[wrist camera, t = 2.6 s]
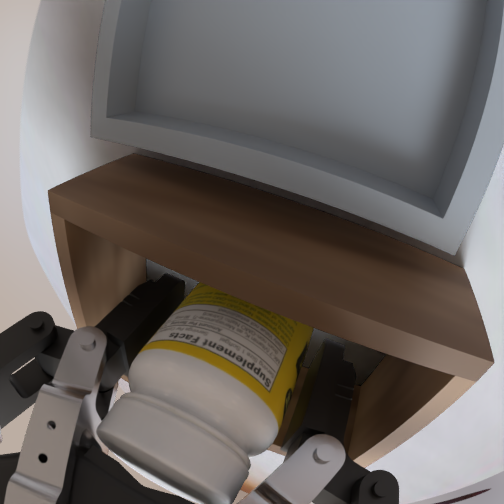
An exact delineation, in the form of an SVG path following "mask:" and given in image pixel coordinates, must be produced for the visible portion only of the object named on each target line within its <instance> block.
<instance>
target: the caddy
mask: <svg viewBox="0 0 504 504" xmlns="http://www.w3.org/2000/svg"><path fill="white" fill-rule="evenodd" d="M48 197H49V205H50V212H51V219H52V225H53V231H54V237H55V242H56V248H57V253H58V257H59V262H60V267H61V271H62V275H63V280H64V284H65V288H66V291H67V295H68V299H69V303H70V306H71V310H72V313H73V316H74V320H75V323H76V326H77V329H79V328H81V327H85V326H93V327H94V326H96V325H97V324H98V323H99V322H100V321H101V320H102V319H103V318H104V317H105V316H106V315H107V314H108V313H109V312H111V311H112V310H113V309H114V308H115V307H116V306H117V305H118V304H119V303H120V302H122V301H123V299H124V298H125V297H126V296H127V295H129V294H130V293H131V292H132V291H133V290H134V289H135V288H136V287H137V286H138V285H140V284H142V283H145V282H147V280H146V259H149V260H151V261H153V262H155V263H157V264H160V265H162V266H164V267H166V268H169V269H171V270H173V271H175V272H178V273H180V274H182V275H185V276H187V277H189V278H191V279H194V280H196V281H198V282H201V283H203V284H205V285H208V286H210V287H213V288H215V289H217V290H220V291H222V292H224V293H227V294H229V295H232V296H234V297H237V298H239V299H241V300H244V301H246V302H249V303H251V304H254V305H256V306H259V307H261V308H264V309H266V310H269V311H271V312H274V313H276V314H279V315H282V316H284V317H287V318H289V319H292V320H294V321H297V322H300V323H302V324H305V325H308V326H310V327H313V328H316V329H318V330H321V331H324V332H326V333H329V334H332V335H335V336H337V337H340V338H343V339H346V340H348V341H351V342H354V343H357V344H360V345H363V346H365V347H368V348H371V349H374V350H377V351H380V352H383V353H386V354H387V355H386V356H385V357H384V359H383V360H382V361H381V362H380V364H379V365H378V366H377V367H376V369H375V370H374V371H373V372H372V374H371V375H370V376H369V377H368V379H367V380H366V381H365V382H364V383H363V385H362V386H358V385H354V389H353V396H352V400H351V401H352V402H351V407H350V412H349V417H348V421H347V426H346V431H345V435H344V447H345V450H346V452H347V454H348V456H349V457H350V458H351V459H352V460H353V461H354V462H356V463H357V464H359V465H360V466H362V467H363V468H365V467H367V466H369V465H370V464H372V463H374V462H375V461H377V460H378V459H380V458H382V457H383V456H385V455H386V454H388V453H389V452H391V451H392V450H394V449H395V448H397V447H398V446H399V445H401V444H402V443H404V442H405V441H407V440H408V439H409V438H411V437H412V436H413V435H415V434H416V433H417V432H419V431H420V430H421V429H423V428H424V427H425V426H427V425H428V424H429V423H430V422H432V421H433V420H434V419H435V418H437V417H438V416H439V415H440V414H441V413H443V412H444V411H445V410H446V409H447V408H448V407H450V406H451V405H452V404H453V403H454V402H455V401H456V400H457V399H459V398H460V397H461V396H462V395H463V394H464V393H465V392H466V391H467V390H468V389H469V388H470V387H471V386H472V385H473V384H474V383H475V382H477V381H478V380H479V379H480V378H481V376H482V375H483V374H484V373H485V372H486V371H487V370H488V369H489V368H490V367H491V366H492V365H493V364H494V359H493V355H492V351H491V347H490V343H489V339H488V336H487V332H486V329H485V326H484V322H483V319H482V316H481V313H480V310H479V307H478V304H477V301H476V298H475V295H474V293H473V290H472V287H471V284H470V282H469V279H468V277H467V274H466V271H465V269H463V268H461V267H459V266H457V265H455V264H452V263H450V262H448V261H446V260H443V259H441V258H439V257H436V256H434V255H432V254H429V253H427V252H425V251H422V250H420V249H418V248H415V247H413V246H410V245H408V244H406V243H403V242H401V241H398V240H396V239H393V238H391V237H388V236H386V235H383V234H381V233H378V232H376V231H373V230H371V229H368V228H366V227H363V226H360V225H358V224H355V223H352V222H350V221H347V220H344V219H342V218H339V217H336V216H334V215H331V214H328V213H325V212H323V211H320V210H317V209H314V208H311V207H309V206H306V205H303V204H300V203H297V202H294V201H291V200H288V199H285V198H282V197H279V196H277V195H274V194H270V193H267V192H264V191H261V190H258V189H255V188H252V187H249V186H246V185H243V184H239V183H236V182H233V181H230V180H227V179H223V178H220V177H217V176H213V175H210V174H207V173H203V172H200V171H196V170H193V169H189V168H186V167H182V166H179V165H175V164H172V163H168V162H164V161H161V160H157V159H153V158H149V157H146V156H142V155H138V154H134V153H133V154H131V155H128V156H125V157H123V158H120V159H118V160H115V161H113V162H110V163H108V164H105V165H103V166H100V167H98V168H96V169H93V170H91V171H89V172H86V173H84V174H82V175H80V176H77V177H75V178H73V179H71V180H68V181H66V182H64V183H62V184H60V185H58V186H56V187H54V188H52V189H50V190H48ZM308 370H309V369H308V368H306V367H303V366H302V367H301V370H300V373H299V376H298V379H297V382H296V384H295V387H294V390H293V393H292V397H291V400H290V403H289V405H288V408H287V411H286V413H285V416H284V418H283V421H282V424H281V427H280V429H279V432H278V434H277V436H276V438H275V440H274V442H273V444H272V445H271V446H270V447H269V448H268V449H267V450H270V451H273V452H275V453H278V454H281V455H284V456H286V454H287V452H284V451H281V450H280V448H281V446H282V443H283V440H284V438H285V435H286V432H287V430H288V427H289V424H290V421H291V419H292V416H293V413H294V410H295V407H296V404H297V401H298V399H299V396H300V393H301V390H302V387H303V384H304V380H305V377H306V375H307V372H308ZM121 378H122V379H123V380H125V381H127V382H128V383H129V381H128V377H126V376H125V375H123V376H122V377H121Z"/></svg>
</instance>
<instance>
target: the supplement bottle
mask: <svg viewBox="0 0 504 504" xmlns="http://www.w3.org/2000/svg"><path fill="white" fill-rule="evenodd" d="M313 329H314V328H313V327H310V326H308V325H305V324H302V323H300V322H297V321H294V320H292V319H289V318H287V317H284V316H282V315H279V314H276V313H274V312H271V311H269V310H266V309H264V308H261V307H259V306H256V305H254V304H251V303H249V302H246V301H244V300H241V299H239V298H237V297H234V296H232V295H229V294H227V293H224V292H222V291H220V290H217V289H215V288H213V287H210V286H208V285H205V284H203V283H201V282H199V283H198V284H197V285H196V287H195V288H194V289H193V290H192V291H191V293H190V294H189V295H188V296H187V297H186V298H185V299H184V301H183V302H182V303H181V304H180V305H179V307H178V308H177V309H176V310H175V311H174V312H173V314H172V315H171V316H170V317H169V318H168V319H167V321H166V322H165V323H164V324H163V325H162V326H161V328H160V329H159V330H158V331H157V332H156V333H155V334H154V335H153V337H152V338H151V339H150V340H149V341H148V342H147V344H146V345H145V346H144V347H143V348H142V350H141V351H140V352H139V353H138V355H137V356H136V358H135V359H134V361H133V362H132V364H131V366H130V369H129V375H128V381H129V387H130V391H131V392H130V393H125V394H123V395H122V396H121V397H120V399H119V400H117V401H116V402H115V403H114V405H113V407H112V408H111V410H110V411H109V412H108V414H107V415H106V416H105V418H104V419H103V420H102V422H101V423H100V424H99V426H98V427H97V430H96V433H97V436H98V437H99V439H100V440H101V441H102V443H103V444H104V445H105V446H106V447H107V448H108V449H109V450H110V451H111V452H112V453H113V454H114V455H116V456H117V457H118V458H119V459H121V460H122V461H123V462H124V463H126V464H127V465H128V466H130V467H131V468H132V469H134V470H135V471H137V472H139V473H140V474H141V475H143V476H144V477H146V478H147V479H149V480H151V481H152V482H154V483H156V484H158V485H159V486H161V487H163V488H165V489H167V490H169V491H171V492H173V493H175V494H177V495H179V496H181V497H184V498H186V499H189V500H191V501H194V502H197V503H200V504H232V503H233V502H234V500H235V498H236V496H237V494H238V492H239V490H240V489H241V487H242V485H243V483H244V481H245V480H246V479H247V477H248V475H249V472H248V470H249V469H250V466H251V464H250V460H249V458H250V457H253V456H256V455H259V454H261V453H262V452H264V451H265V450H267V449H268V448H269V447H270V446H271V445H272V444H273V442H274V440H275V438H276V436H277V434H278V432H279V429H280V427H281V424H282V421H283V418H284V416H285V413H286V411H287V408H288V405H289V403H290V400H291V397H292V393H293V390H294V387H295V384H296V382H297V379H298V376H299V373H300V370H301V367H302V364H303V361H304V358H305V355H306V352H307V348H308V345H309V342H310V339H311V336H312V332H313Z"/></svg>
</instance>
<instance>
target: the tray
mask: <svg viewBox="0 0 504 504" xmlns="http://www.w3.org/2000/svg"><path fill="white" fill-rule="evenodd" d="M91 137H92V138H97V139H102V140H106V141H111V142H115V143H120V144H124V145H129V146H133V147H137V148H141V149H145V150H149V151H153V152H157V153H161V154H165V155H169V156H173V157H177V158H180V159H184V160H188V161H191V162H195V163H199V164H202V165H206V166H209V167H213V168H216V169H220V170H223V171H226V172H230V173H233V174H236V175H240V176H243V177H246V178H250V179H253V180H256V181H259V182H262V183H265V184H269V185H272V186H275V187H278V188H281V189H284V190H287V191H290V192H293V193H296V194H299V195H302V196H304V197H307V198H310V199H313V200H316V201H319V202H322V203H324V204H327V205H330V206H333V207H335V208H338V209H341V210H344V211H346V212H349V213H352V214H354V215H357V216H360V217H362V218H365V219H367V220H370V221H373V222H375V223H378V224H380V225H383V226H385V227H388V228H390V229H393V230H395V231H398V232H400V233H402V234H405V235H407V236H410V237H412V238H414V239H417V240H419V241H422V242H424V243H426V244H429V245H431V246H433V247H435V248H438V249H440V250H442V251H444V252H447V253H449V254H451V255H453V256H455V254H456V252H457V250H458V248H459V246H460V244H461V242H462V241H463V239H464V237H465V235H466V233H467V231H468V229H469V227H470V225H471V223H472V221H473V218H474V216H475V214H476V212H477V210H478V208H479V205H480V203H481V201H482V199H483V196H484V194H485V192H486V189H487V187H488V185H489V182H490V180H491V177H492V175H493V172H494V169H495V167H496V164H497V161H498V159H499V156H500V153H501V150H502V147H503V144H504V0H105V5H104V10H103V15H102V20H101V26H100V32H99V38H98V45H97V52H96V61H95V70H94V80H93V92H92V108H91Z"/></svg>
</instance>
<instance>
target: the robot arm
mask: <svg viewBox="0 0 504 504" xmlns="http://www.w3.org/2000/svg"><path fill="white" fill-rule="evenodd" d="M184 292H185V282H184V280H182V279H179V278H177V277H175V276H173V275H170V274H168V273H166V274H164V275H163V276H162V277H161V278H160V279H159V280H157V281H156V282H154V281H151V280H149V281H147V282H145V283H142V284H140V285H138V286H137V287H136V288H135V289H134V290H133V291H132V292H131V293H130V294H129V295H127V296H126V297H125V298H124V299H123V301H122V302H120V303H119V304H118V305H117V306H116V307H115V308H114V309H113V310H112V311H111V312H109V313H108V314H107V315H106V316H105V317H104V318H103V319H102V320H101V321H100V322H99V323H98V324H97V325H96V326H94V327H93V326H85V327H81V328H79V329H77V330H75V331H73V330H70V329H66V328H63V327H60V326H56V325H55V323H54V321H53V318H52V317H51V315H49V314H48V313H46V312H41V311H40V312H34V313H31V314H30V315H28V316H26V317H25V318H23V319H22V320H20V321H19V322H17V323H16V324H14V325H13V326H11V327H9V328H8V329H7V330H5V331H3V332H2V333H0V443H1V442H2V436H1V429H2V428H3V427H4V426H6V425H7V424H8V423H9V422H11V421H12V420H13V419H15V418H16V417H17V416H19V415H20V414H21V413H22V412H24V411H25V410H26V409H27V408H29V407H30V406H31V405H32V404H34V403H35V405H34V408H33V412H32V415H31V418H30V421H29V424H28V428H27V431H26V434H25V438H24V442H23V446H22V449H21V452H18V453H11V454H3V455H0V504H195V503H192V502H190V501H188V500H186V499H184V498H182V497H180V496H176V495H173V494H168V493H165V492H161V491H157V490H154V489H150V488H147V487H144V486H143V485H141V484H140V483H139V482H138V481H137V480H136V479H135V478H133V476H132V475H131V474H130V473H129V472H128V471H126V469H124V467H122V465H121V464H120V463H119V462H117V461H116V460H114V459H113V458H111V457H110V456H108V451H109V449H108V448H107V447H106V446H105V445H104V444H103V443H102V441H101V440H100V439H99V437H98V436H97V433H96V430H97V427H98V426H99V424H100V423H101V422H102V420H103V419H104V418H105V416H106V415H107V414H108V412H109V411H110V410H111V408H112V407H113V405H114V401H115V397H116V392H117V388H118V380H119V379H120V378H121V377H122V376H123V375H125V376H126V377H128V375H129V369H130V366H131V364H132V362H133V361H134V359H135V358H136V356H137V355H138V353H139V352H140V351H141V350H142V348H143V347H144V346H145V345H146V344H147V342H148V341H149V340H150V339H151V338H152V337H153V335H154V334H155V333H156V332H157V331H158V330H159V329H160V328H161V326H162V325H163V324H164V323H165V322H166V321H167V319H168V318H169V317H170V316H171V315H172V314H173V312H174V311H175V310H176V309H177V308H178V307H179V305H180V304H181V303H182V302H183V301H184ZM344 350H345V345H343V344H340V343H337V342H334V341H332V340H329V339H325V340H324V342H323V344H322V345H321V347H320V349H319V351H318V353H317V354H316V356H315V358H314V360H313V361H312V363H311V365H310V367H309V370H308V372H307V375H306V377H305V380H304V384H303V387H302V390H301V393H300V396H299V399H298V401H297V404H296V407H295V410H294V413H293V416H292V419H291V421H290V424H289V427H288V430H287V432H286V435H285V438H284V440H283V443H282V446H281V448H280V450H281V451H284V452H287V454H286V456H285V459H284V462H283V464H281V465H280V466H279V467H278V468H277V469H276V470H275V471H274V472H273V473H272V474H271V475H270V476H268V477H267V478H266V479H265V480H264V481H263V482H262V483H261V484H259V485H258V486H257V487H256V488H255V489H254V490H252V491H251V492H250V493H249V494H248V495H247V496H245V497H244V498H243V499H242V500H240V501H239V502H238V503H237V504H310V503H311V502H313V503H314V504H399V485H398V482H397V480H396V478H395V477H394V476H393V475H392V474H391V473H390V472H387V471H384V470H376V471H372V472H370V471H368V470H367V469H365V468H363V467H362V466H360V465H359V464H357V463H356V462H354V461H353V460H352V459H351V458H350V457H349V456H348V454H347V452H346V450H345V447H344V435H345V431H346V426H347V421H348V417H349V412H350V407H351V402H352V401H351V400H352V396H353V389H354V385H355V380H356V374H355V371H354V367H353V363H350V362H347V361H344V360H343V355H344ZM34 357H35V359H34V360H32V361H31V362H30V363H28V364H27V365H26V366H24V367H23V368H21V369H20V370H19V371H17V372H16V373H14V374H12V373H13V372H14V371H16V370H17V369H18V368H20V367H21V366H23V365H24V364H25V363H27V362H28V361H30V360H31V359H32V358H34ZM11 374H12V375H11Z"/></svg>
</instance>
